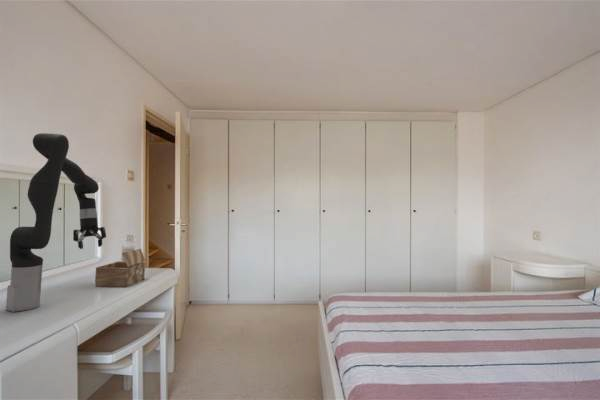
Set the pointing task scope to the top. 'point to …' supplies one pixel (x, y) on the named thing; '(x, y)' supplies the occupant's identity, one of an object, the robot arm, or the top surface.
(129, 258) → the near flap
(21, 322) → the top surface
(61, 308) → the top surface
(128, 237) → the water bottle
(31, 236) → the robot arm
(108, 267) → the wooden box
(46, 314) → the top surface
